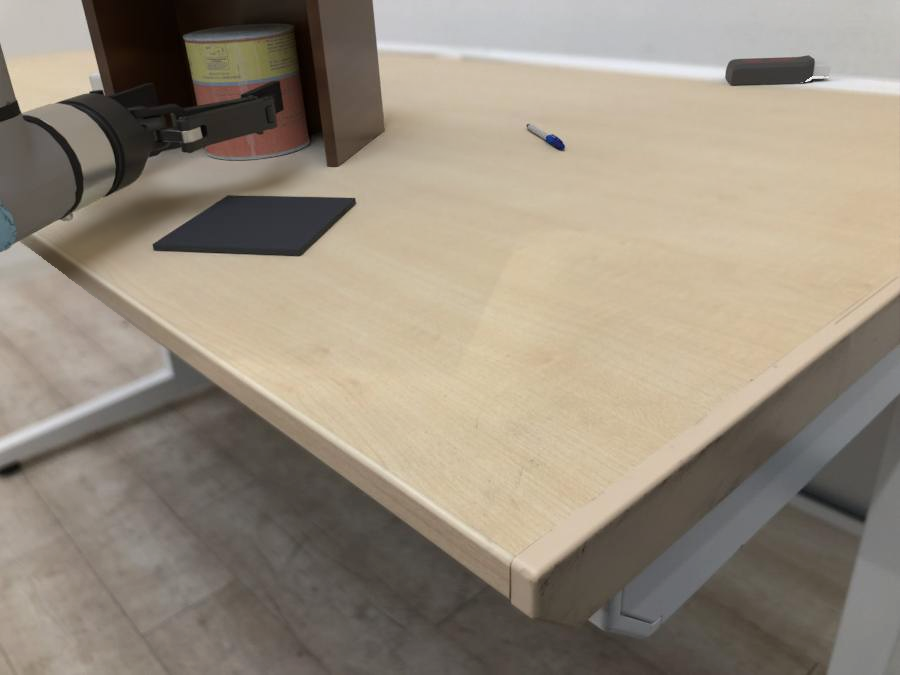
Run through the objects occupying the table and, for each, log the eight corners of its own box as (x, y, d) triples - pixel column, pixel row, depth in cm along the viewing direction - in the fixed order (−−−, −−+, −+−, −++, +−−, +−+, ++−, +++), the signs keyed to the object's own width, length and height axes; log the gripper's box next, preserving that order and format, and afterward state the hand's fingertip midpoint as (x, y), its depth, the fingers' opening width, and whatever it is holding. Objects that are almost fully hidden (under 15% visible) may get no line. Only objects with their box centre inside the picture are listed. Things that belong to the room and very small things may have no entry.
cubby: (121, 164, 85) (63, -72, 74) (194, 130, 97) (152, -75, 87) (338, 166, 79) (306, -89, 69) (385, 130, 92) (364, -90, 81)
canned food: (279, 129, 95) (262, 21, 90) (329, 143, 87) (314, 26, 82) (189, 148, 89) (165, 34, 83) (234, 166, 81) (211, 41, 75)
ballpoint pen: (568, 150, 79) (568, 140, 79) (559, 151, 79) (559, 141, 79) (530, 128, 88) (530, 119, 88) (522, 129, 88) (522, 120, 88)
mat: (153, 250, 61) (151, 243, 60) (228, 200, 71) (227, 194, 71) (300, 255, 58) (299, 249, 57) (356, 203, 68) (355, 197, 68)
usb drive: (725, 77, 107) (727, 56, 106) (819, 75, 105) (823, 53, 104) (730, 85, 103) (733, 62, 102) (830, 82, 101) (833, 59, 100)
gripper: (-43, 197, 65) (113, 134, 83) (234, 204, 59) (338, 134, 77) (-77, 103, 62) (94, 59, 80) (214, 100, 56) (328, 53, 74)
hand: (214, 96), depth 79 cm, fingers open, 13 cm apart
